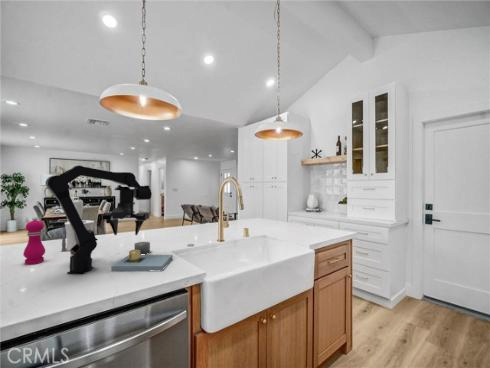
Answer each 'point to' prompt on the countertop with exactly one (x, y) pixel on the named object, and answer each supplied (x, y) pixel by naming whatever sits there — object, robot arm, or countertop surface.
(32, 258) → the pepper mill
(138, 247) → the black coupling
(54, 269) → the countertop surface
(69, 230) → the cup
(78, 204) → the skyscraper
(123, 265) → the socket board
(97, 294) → the countertop surface
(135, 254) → the brass fitting
